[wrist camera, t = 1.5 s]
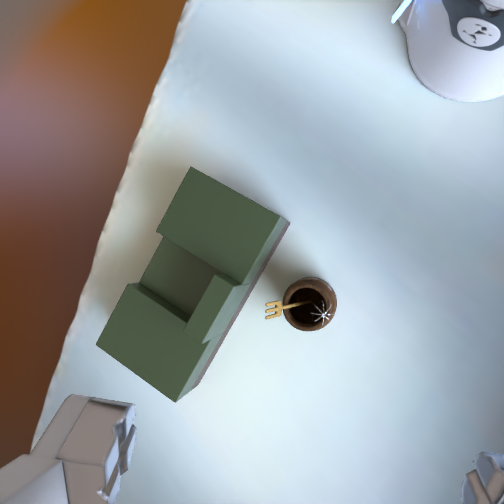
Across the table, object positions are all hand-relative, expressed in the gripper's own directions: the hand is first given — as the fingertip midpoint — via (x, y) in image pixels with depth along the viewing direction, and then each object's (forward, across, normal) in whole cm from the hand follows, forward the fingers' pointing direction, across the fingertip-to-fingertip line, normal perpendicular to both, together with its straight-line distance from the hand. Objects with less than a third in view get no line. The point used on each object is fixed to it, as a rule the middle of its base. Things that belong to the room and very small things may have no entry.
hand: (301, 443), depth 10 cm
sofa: (+38, +8, +19) cm, 43 cm away
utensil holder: (+35, -6, +18) cm, 40 cm away
